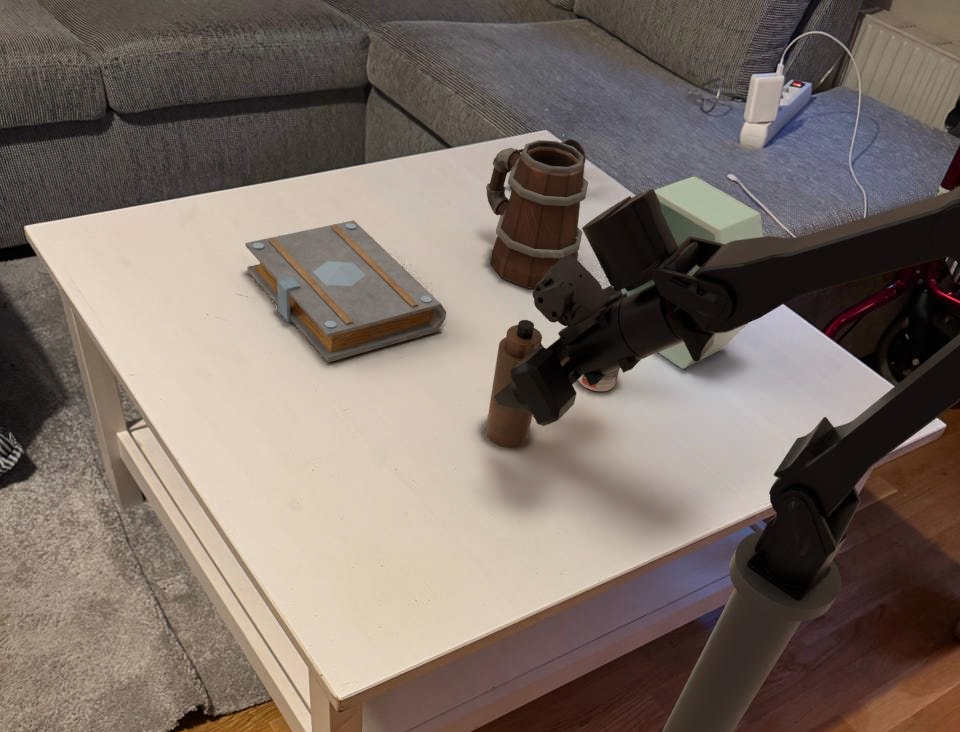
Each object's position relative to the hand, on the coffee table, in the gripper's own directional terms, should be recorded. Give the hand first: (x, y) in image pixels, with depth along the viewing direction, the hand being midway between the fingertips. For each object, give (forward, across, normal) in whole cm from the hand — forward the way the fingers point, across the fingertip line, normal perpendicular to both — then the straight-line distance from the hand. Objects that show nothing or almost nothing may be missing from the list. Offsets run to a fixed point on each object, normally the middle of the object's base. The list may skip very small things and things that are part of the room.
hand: (518, 379), depth 96 cm
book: (+26, -8, -16) cm, 31 cm away
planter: (+1, -30, +10) cm, 32 cm away
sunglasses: (+24, -56, -14) cm, 63 cm away
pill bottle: (+3, -16, +7) cm, 18 cm away
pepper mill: (+5, 0, +5) cm, 7 cm away
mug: (+18, -33, -7) cm, 39 cm away
